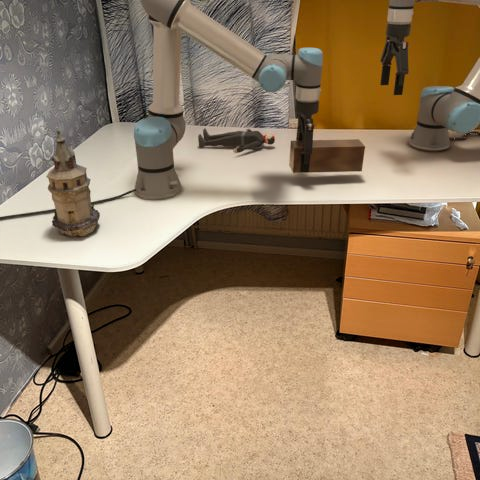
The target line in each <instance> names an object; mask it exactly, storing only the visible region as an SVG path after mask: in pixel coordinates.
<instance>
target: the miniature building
mask: <svg viewBox="0 0 480 480" xmlns="http://www.w3.org/2000/svg"><path fill="white" fill-rule="evenodd" d="M56 134H57V136H56V138H55V140H54V141H55V142H56V147H55V154H54V156H52V157H51V161H52V162H53V165H54V167H53V168H51V169H50V170H49V171H48V173H47V174H46V178H47V179H48V182H49V184H48V186H47V190H48V191H49V193H50V194H51V200H52V201H53V205H54V209H56V211H54V212H53V217H52V220H51V223H52V225H51V227H54V228H56V229H58V230H59V231H60V234H63V235H64V234H65V235H66V236H69V237H77V236H80V237H83V236H87V235H88V234H90V233H93V232H94V231H95V229H96V226H97V225H98V223H99V220H100V216H101V213H100V212H99V210H98V209H96V208H95V204H92V205H91V202H92V201H91V200H92V199H91V198H92V197H91V192H92V191H91V188H90V184H91V178H89V177H88V174H87V167H85V166H84V165H83V166H82V165H80V164H77V160H76V154H75V151H74V150H70V149H69V147H68V145H67V143H66V138H65V137H64V136H63V135H61V130H60V129H56Z"/></svg>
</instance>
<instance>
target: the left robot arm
mask: <svg viewBox="0 0 480 480" xmlns="http://www.w3.org/2000/svg"><path fill="white" fill-rule="evenodd" d="M140 4H141V6H142V8H143V10H144V11H145V13H146V14H148V21H149V22H150V24H151V25H152V26H153V43H152V44H153V49H152V51H153V53H152V54H153V55H152V58H153V59H152V67H153V68H152V75H153V76H152V80H153V81H152V103H150V104H149V106H148V107H147V108H148V109H147V111H148V112H147V113H148V114H147V115H148V117H145V118H142V119H139V120H138V121H137V122H136V123H135V125H134V127H133V139H134V144H135V154H136V161H137V175H136V179H135V184H134V189H131V190H128V191H126V192H124V193H121V194H119V195H115V196H112V197H108V198H104V199H99V200H98V199H97V200H95V201H91V205H93V204H94V205H95V204H100V203H104V202H110V201H113V200H116V199H120V198H123V197H125V196H128V195H130V194H132V193H135V195H136V196H137V197H138V198H141V199H143V200H148V201H161V200H168V199H171V198H174V197H176V196H178V195H179V194H180V193H181V192H182V183H181V180H180V177H179V176H178V173H177V171H176V169H175V161H174V160H175V159H174V158H175V157H174V149H175V147H176V146H177V145H178V144H179V143H180V142H181V140H182V139H183V138H184V135H185V132H186V128H187V124H186V119H185V117H184V107H183V106H182V105H181V104H180V89H181V86H180V84H181V83H180V82H181V57H182V55H181V54H182V53H181V52H182V34H184V35H186V36H187V37H189V38H190V39H192V40H193V41H195V42H197V44H199V45H201V46H202V47H204V48H206V49H207V50H208V51H210V52H212V53H213V54H215V55H217V56H218V57H219V58H221V59H222V60H224V61H225V62H227V63H228V64H230V65H232V66H233V67H235V68H236V69H238V70H239V71H241V72H242V73H244V74H246V75H247V76H248V77H250V78H251V79H253V80H254V81H256V82H257V83H258V84H259V86H260V87H261V89H262V90H263V91H265V92H267V93H276V92H277V93H278V91H280V90H281V89H282V88H283V87H284V86H285V84H286V82H287V81H296V84H295V101H294V111H295V112H296V114H297V116H298V117H297V127H296V138H295V141H298V140H303V152H300V154H302V156H301V169H300V172H309V164H310V154H312V146H313V140H314V128H315V123H314V118H313V115H316V114H318V113H319V108H320V101H319V100H320V93H321V92H323V90H322V88H321V85H322V83H321V82H322V73H323V71H322V70H323V61H324V60H323V57H324V52H323V51H322V50H321V49H320V48H317V47H300V48H299V49H298V52H297V54H283V53H282V54H281V53H280V54H279V53H272V52H271V53H264V52H262V51H261V50H260V49H259V48H257V47H256V46H254V45H252V44H251V43H250V42H248V41H246V40H245V39H243V38H242V37H240V36H239V35H237V34H235V33H234V32H233V31H232V30H230V29H229V28H227V27H225V26H224V25H222V24H221V23H219V22H218V21H216V20H215V19H214V18H212V17H210V16H209V15H207V14H206V13H204V12H203V11H201V10H199V8H197V7H195V5H192V4H191V0H140ZM55 211H56V209H55V208H51V209H45V210H39V211H38V210H37V211H32V212H31V211H30V212H24V213H17V214H10V215H2V216H0V220H6V219H12V218H19V217H20V218H21V217H26V216H33V215H40V214H47V213H54V212H55Z"/></svg>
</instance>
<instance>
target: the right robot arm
mask: <svg viewBox="0 0 480 480" xmlns="http://www.w3.org/2000/svg"><path fill="white" fill-rule="evenodd" d="M421 2H422V3H423V2H443V3H454V4H463V5H472V6H477V7H478V8H479V9H480V0H389V2H388V3H389V4H388V8H387V9H388V10H387V18H386V21H387V24H386V29H385V35H386V37H385V43H384V47H383V50H382V53H381V57H380V63H381V65H382V67H381V74H380V84H379V85H380V86H389V84H390V77H391V76H390V75H391V67H392V60H393V58H395V66H396V72H395V74H394V75H395V78H394V79H395V80H394V86H393V87H394V88H393V94H392V95H393V96H403V94H404V93H403V92H404V86H405V85H404V84H405V77H406V75H408V74H409V41H405V38H407V37H409V36H411V29H412V24H411V23H412V20H413V15H414V13H415V12H414V6H415V3H421ZM418 105H419V106H418V112H417V119H416V120H417V121H416V125H415V127H414V129H413V131H412V132H411V133H410V138H409V140H408V145H409V146H410V147H411V148H413V149H415V150H418V151H422V152H430V153H437V152H445V151H447V150H448V149H450V143H451V141H464V140H466V139H467V136H470V135H471V134H470V133H475V134H474V135H478V136H479V137H480V132H479V131H474V130H475V129H476V128H477V127H478V126H479V125H480V57H478V59H477V61H476V62H475V64H474V66H473V67H472V68H471V70H470V72H469V73H468V75H467V76H466V78H465V79H464V81H463V83H462V84H461V85H459V86H456V87H453V86H450V85H449V86H448V85H431V86H425V87H424V88H423V89H422V90H421V94H420V97H419V104H418ZM449 131H451V132H452V133H453V132H454V133H457V134H463V135H462V136H461V137H460V136H459V137H460V138H457V137H450V135H449ZM476 133H477V134H476ZM465 134H466V136H465ZM464 136H465V138H464ZM454 138H455V139H454Z"/></svg>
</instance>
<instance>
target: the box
mask: <svg viewBox="0 0 480 480" xmlns="http://www.w3.org/2000/svg"><path fill="white" fill-rule="evenodd" d="M289 146H290V147H289V164H288V165H289V168H290V170H291V173H292V174H308V173H309V174H310V173H311V174H312V173H352V172H353V173H354V172H355V173H356V172H363V166H364V165H363V164H364V159H365V158H364V157H365V152H366V151H365V150H366V145H365V144H364V143H363V142H362V141H361V140H360V139H359V138H358V139H357V138H356V139H353V138H351V139H313V146H312V154H310V164H309V172H300V169H301V156H302V154H300V152H303V140H298V141H297V140H290V145H289Z"/></svg>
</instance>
